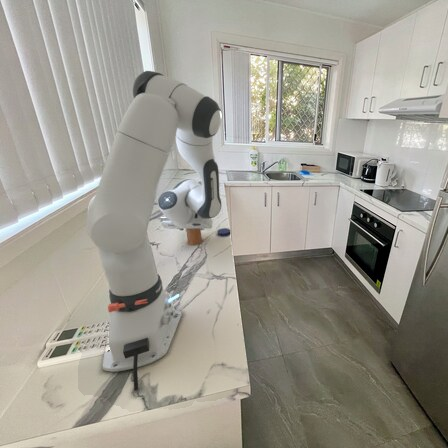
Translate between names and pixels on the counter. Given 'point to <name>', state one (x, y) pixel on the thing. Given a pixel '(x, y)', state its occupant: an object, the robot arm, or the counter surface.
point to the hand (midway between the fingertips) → (192, 228)
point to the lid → (224, 232)
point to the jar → (194, 236)
